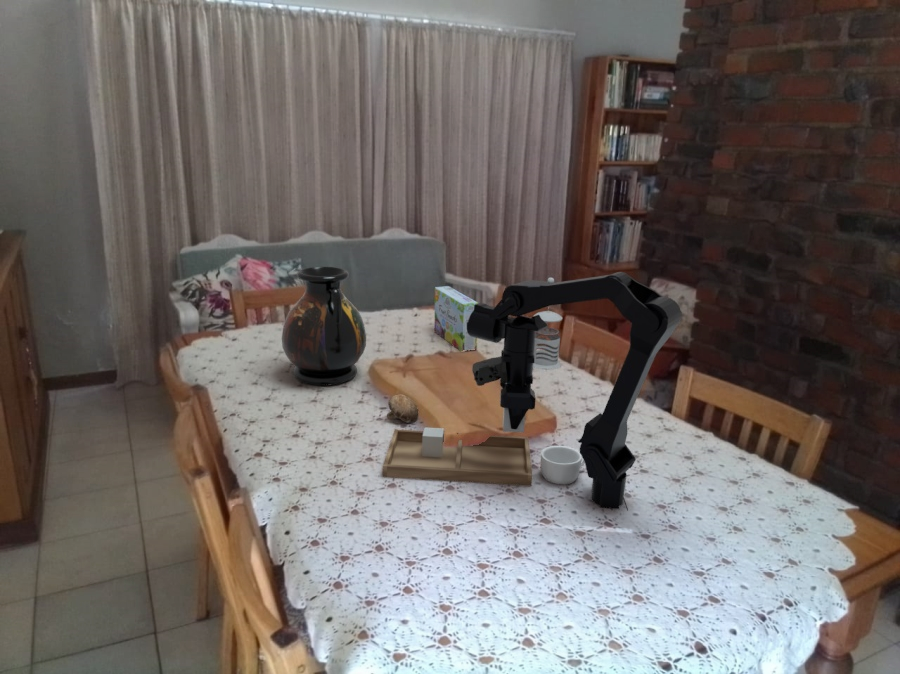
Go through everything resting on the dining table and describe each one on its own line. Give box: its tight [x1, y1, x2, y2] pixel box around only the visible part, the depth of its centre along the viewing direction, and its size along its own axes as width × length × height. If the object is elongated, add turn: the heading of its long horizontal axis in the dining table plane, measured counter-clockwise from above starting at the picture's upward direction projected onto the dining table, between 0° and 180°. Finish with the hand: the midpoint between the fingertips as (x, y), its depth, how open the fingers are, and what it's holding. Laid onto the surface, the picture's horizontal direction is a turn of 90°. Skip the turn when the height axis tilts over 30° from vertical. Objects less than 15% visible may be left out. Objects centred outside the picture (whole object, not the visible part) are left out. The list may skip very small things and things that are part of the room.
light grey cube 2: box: [502, 408, 526, 434], centre depth 132 cm, size 4×4×4 cm
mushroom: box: [386, 393, 419, 424], centre depth 154 cm, size 8×8×6 cm
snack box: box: [434, 285, 479, 352], centre depth 209 cm, size 21×6×15 cm, turn 25°
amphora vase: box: [281, 266, 367, 386], centre depth 175 cm, size 22×22×28 cm
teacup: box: [540, 445, 585, 485], centre depth 131 cm, size 10×8×5 cm
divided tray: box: [382, 428, 533, 487], centre depth 135 cm, size 16×28×3 cm, turn 86°
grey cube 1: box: [422, 426, 445, 458], centre depth 138 cm, size 4×4×4 cm
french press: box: [532, 277, 563, 370], centre depth 190 cm, size 10×12×25 cm
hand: (513, 424), depth 132 cm, fingers closed on light grey cube 2, 4 cm apart
